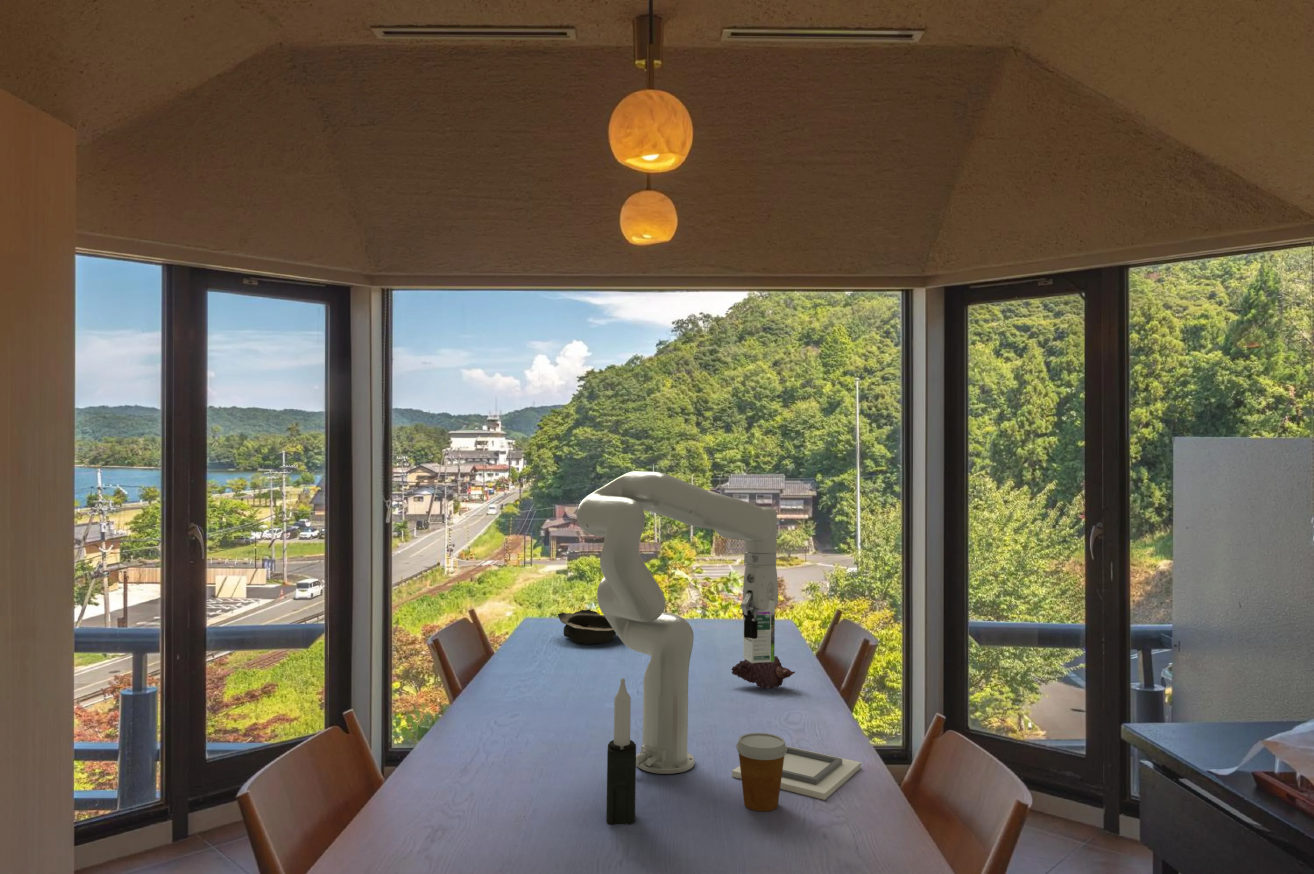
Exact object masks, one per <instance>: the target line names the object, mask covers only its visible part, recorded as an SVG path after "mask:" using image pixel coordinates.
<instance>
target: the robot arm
mask: <svg viewBox="0 0 1314 874" xmlns="http://www.w3.org/2000/svg"><path fill="white" fill-rule="evenodd" d="M645 512H651V513H655V514H656V515H657V514H658V515H661V516H662V517H663V516H664V517H665V518H666V517H667V518H669V519H672V520H675V521H677V522H680V523H682V524H685V525H688V526H692V527H695V528H696V527H697V528H700V529H701V528H702V529H708V530H714V531H715V532H716V533H717V534H718V535H719V536H721V538H725V539H729V540H736V541H738V540H739V541H743V542H744V549H743V550H744V551H743V552H744V553H743V566H745V567H744V574H743V586H742V602H741V603H740V608H741V612H742V616H743V619H742V620H743V631H744V632H743V633H744V637H746V638H753V639H756V638H757V630H758V621H756V618H757V614H758V611H759V610H761V611H763V610H766V609H768V606H769V600H771V599H773V600H775V607H777V605H778V603H779V584H778V570H777V541H778V540H777V539H778V538H777V537H778V536H777V534H778V533H777V532H778V513H777V510H776V509H775V508H773V507H770V506H769V507H768V506H758V505H755V504H753V503H750V502H748V501H745V500H743V499H738V498H735V497H731V496H727V495H724V494H722V493H718V492H715V491H712V490H709V489H705V488H702V487H699V486H696V485H694V484H692V483H689V482H687V481H684V480H682V479H679V478H677V477H675V476H672V475H670V474H667V473H664V472H659V471H645V470H644V471H643V470H642V471H641V470H634V471H629V472H626V473H624V474H623V475H621V476H618V477H617V478H615V479H614V480H612V481H610V482H609V483H606V484H604V485H603V486H602V487H599V488H598V489H596V490H594V491H593V492H592V493H590V494H588V495H586V496H585V497H584V498H583V499H582V500H581V502H580V503H579V505H578V507H577V510H576V523H577V524H578V527H579V528H580V529H581V530H582V531H583V532H584V533H586V534H588V535H591V536H595V537H602V538H603V537H604V540H603V545H602V549H601V553H600V560H599V566H600V570H601V573H602V575H603V578H601V581H600V582H599V584H598V587H597V592H596V597H597V599H596V600H597V603H598V604H597V605H598V607H599V609H600V611H601V613H602V614H603V615H604V616H605V617H606V619H607V620H608V622H609V623H610V625H611V626H612V628H613V629H614V631H615V632H616V635H617V636H618V638H619V639H620V640H621V642H622V643H623V644H624V645H625V646H626V647H627V648H628V649H631V650H633V651H635V652H638V653H641V654H644V655H648V656H649V657H650V660H649V663H648V665H647V667H646V669H645V672H644V675H643V685H642V686H643V688H642V690H643V693H642V695H643V697H642V698H643V699H642V701H643V702H642V745H641V746H640V752H639V753H636V768H638V769H641V770H643V771H645V772H648V773H652V774H660V775H674V774H675V775H676V774H680V773H681V774H682V773H684V772H687V771H689V770H691V769H692V768H693V767H695V765H696V764H695V761H696V759H695V756H694V755H693V754H691V753H690V752H688V741H689V740H688V739H689V738H688V737H689V736H688V734H689V733H688V732H689V731H688V730H689V726H688V725H689V724H688V722H689V672H690V671H689V670H690V662H691V656H692V651H693V646H694V639H695V635H694V631H693V628H692V626H691V624H690V623H689V622H688V621H687V620H686V619H685V618H684V617H682V616H680V615H678V614H675V613H671V612H665V611H664V610H665V607H666V599H665V595H664V593H663V590H662V589H661V587H660V586H659V584H658V583H657V580H655V579H656V578H654V576H653V575H652V573H651V571H650V570H649V568H648V567H647V565H646V563H645V561H644V559H643V558H642V556H641V553H640V552H641V551H640V543H641V539H642V535H643V532H644V528H645V521H646V515H645ZM752 600H753V602H754V605H755V607H750V605H751V601H752ZM752 610H753V611H754V612H753V614H752V612H751V611H752Z"/></svg>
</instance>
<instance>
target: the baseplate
mask: <svg viewBox="0 0 1314 874" xmlns="http://www.w3.org/2000/svg"><path fill="white" fill-rule="evenodd" d="M785 746H786V747H787V752H786V754H785V756H784V763H783V770H782V778H781V786H780V790H784V791H788V792H793V793H794V794H795V793H796V794H800V795H804V796H808V797H810V798H811V797H812V798H816V799H820V800H824V801H825V800H827V798H829V797H830V796H831V795H832V794H833V793H834V792H836V790H838V789H839V788H840V787H841V786H843V784H845V783H846V782H847V781H848V780H849V779H850V778H852V777H853V776H854V775H856V773H857V772H858V771H860V770H861V769H862V762H861V761H856V760H854V759H853V760H852V759H847V758H843V757H839V756H838V757H837V756H833V755H828V754H825V753H820V752H815V751H810V750H807V749H802V748H799V747H793V746H788V745H785ZM731 777H732V778H737V779H740V780H742V778H741V769H740V765H738V766H737V767H735V768H734V769H732V770H731Z"/></svg>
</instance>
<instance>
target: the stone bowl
mask: <svg viewBox="0 0 1314 874" xmlns="http://www.w3.org/2000/svg"><path fill="white" fill-rule="evenodd" d="M557 617H558V619H559V621H560V622H561V623H562V624H564V627H563V636H564V637H566V638H570V639H571V640H572V642H573V643H575V644H577V643H579V645H582V643H583V644H585V645H592V644H600V643H605V644H606V643H609V642H612V641H613V640H614V638H615V637H616V635H617V634H616V632H615V631H614V629H613V628H612V626H611V625H610V623H609V622H608V620H607V619H606V617H605V616H604V614H603V615H602V614H600V613H599V612H597V611H594V610H591V609H580V610H579V611H576V612H573V613H571V612H569V613H568V612H563V611H562V612H561V613H557Z"/></svg>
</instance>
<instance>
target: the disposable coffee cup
mask: <svg viewBox="0 0 1314 874" xmlns="http://www.w3.org/2000/svg"><path fill="white" fill-rule="evenodd" d="M786 746H787V745H786V742H785V740H784V738H783V737H781V736H778V735H776V734H772V733H767V732H749V733H745V734H743V735H740V736H739V737H738V742H737V743H736V746H735V747H736V750H737V753H738V757H739V758H738V759H739V766H740V769H741V778H742V779H741V786H742V787H741V788H742V794H743V804H744V807H746V808H748V809H750V810H752V811H755V812H756V811H757V812H770V811H774V810H775V809H777V808H778V807H779V805H778V804H779V799H780V791H781V789H780V786H781V778H782V770H783V763H784V756H785V754H786V752H787V747H786Z"/></svg>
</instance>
